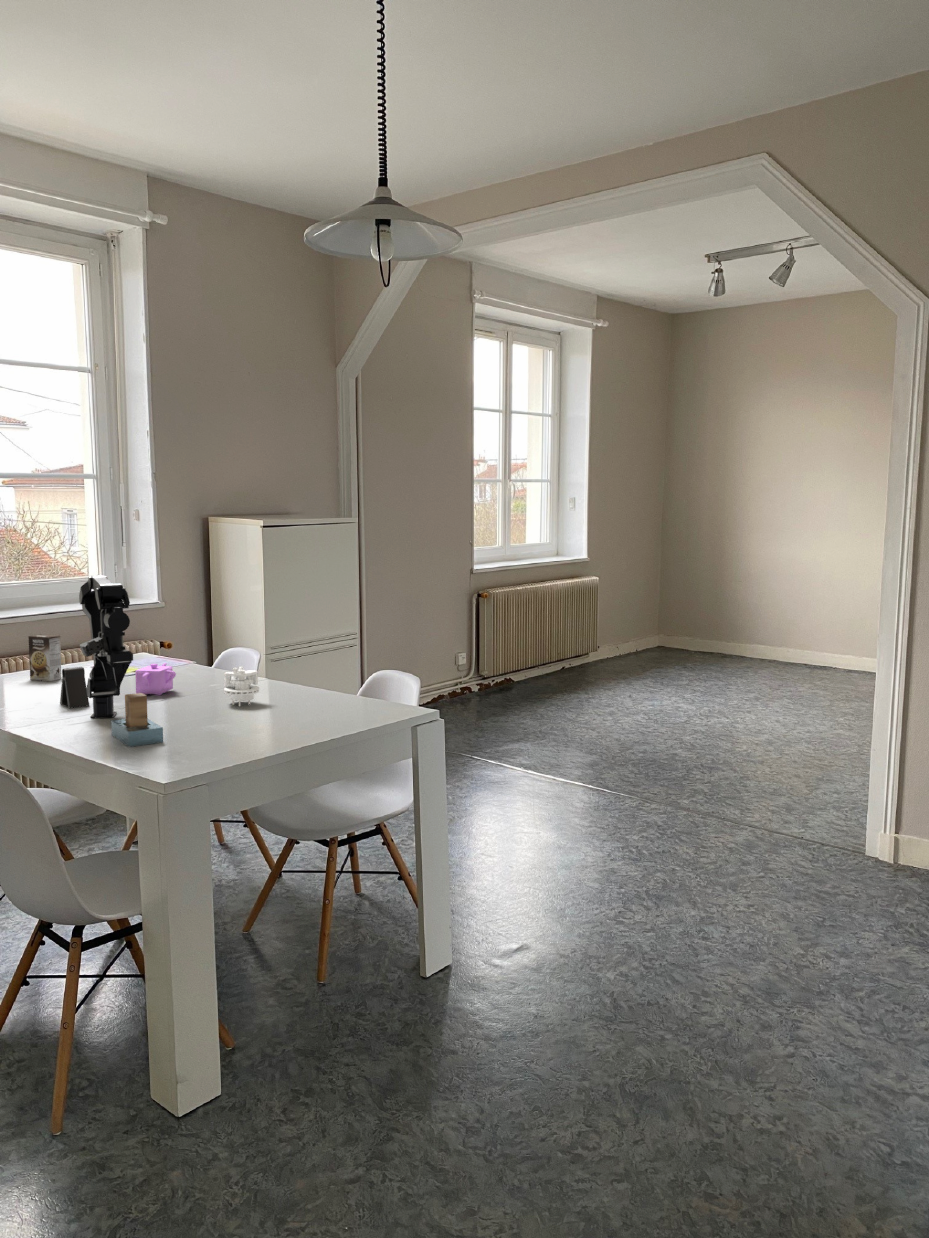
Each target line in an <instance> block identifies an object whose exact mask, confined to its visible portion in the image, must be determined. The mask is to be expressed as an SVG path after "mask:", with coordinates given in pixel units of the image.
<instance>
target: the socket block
mask: <svg viewBox="0 0 929 1238" xmlns="http://www.w3.org/2000/svg"><path fill="white" fill-rule="evenodd" d="M147 721H148V725H145V726H137V727H127V726H126V718H121V719H114V720H111V721H110V722H111V735H112V736H113V737H114V738H116V739H117V740H118V741H120V742H121V743H123V744H124V745H126V747H129V748H130V747H138V746H145V745H152V744H160V743H164V728H163V727H162V726H161V725H159V724H157V723H156V722H154V721H153V720H151V719H149V718H148V717H147Z"/></svg>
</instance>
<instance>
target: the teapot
mask: <svg viewBox="0 0 929 1238" xmlns="http://www.w3.org/2000/svg"><path fill="white" fill-rule="evenodd" d="M167 664H168V663H167V662H164V663H162V665H159V664H158V663H150V665H147V666H143V667H141V668H138V669H137V670H135V672H134V673H135V674H134V675H135V694H136V693H143V694H145V695H147V696H148V695H155V696H162V694H165V693H168V692H169V691H170V690H173V689H174V679H175V677H176V676H177V673H176V671H173V665H171V666H169V665H167Z"/></svg>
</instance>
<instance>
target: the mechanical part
mask: <svg viewBox="0 0 929 1238" xmlns="http://www.w3.org/2000/svg"><path fill="white" fill-rule="evenodd" d="M258 673H259V672H258V670H254V669H253V670H249V669H248V670H245V668H244V666H238V667H233V668H232V671H227V672H224V679H223V693H224V695H227V696H228V698H229V700H231V701H232V704H231V705H232V706H234V705H235V702H239V703H238V707H241V702H246V701H247V703H248V705H249V704H250V705H251V701H252V700H254V698H255V694H257V693H260V686H258V685H259V679H258V678H259V676H258Z"/></svg>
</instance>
